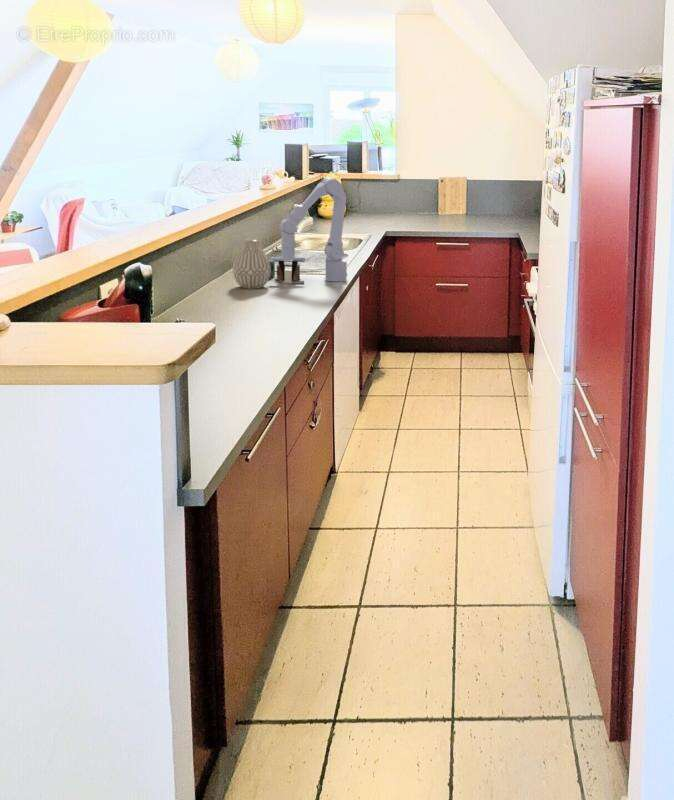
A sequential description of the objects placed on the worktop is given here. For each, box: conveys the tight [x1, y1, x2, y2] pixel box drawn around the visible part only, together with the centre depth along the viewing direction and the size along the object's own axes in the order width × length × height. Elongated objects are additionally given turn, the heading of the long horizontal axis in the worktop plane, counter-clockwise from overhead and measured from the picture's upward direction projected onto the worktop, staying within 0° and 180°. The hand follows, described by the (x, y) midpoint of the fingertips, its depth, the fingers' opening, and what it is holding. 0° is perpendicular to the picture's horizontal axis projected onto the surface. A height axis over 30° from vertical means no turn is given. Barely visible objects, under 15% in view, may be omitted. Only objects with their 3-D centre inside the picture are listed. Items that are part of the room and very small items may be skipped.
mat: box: [292, 280, 305, 285], centre depth 427 cm, size 5×6×1 cm
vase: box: [232, 238, 271, 290], centre depth 413 cm, size 16×16×20 cm
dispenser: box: [276, 262, 301, 281], centre depth 437 cm, size 10×8×7 cm
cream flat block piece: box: [284, 266, 293, 284], centre depth 432 cm, size 3×12×6 cm, turn 2°
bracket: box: [268, 259, 276, 280], centre depth 435 cm, size 18×7×8 cm, turn 166°
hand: (288, 278), depth 429 cm, fingers closed on cream flat block piece, 3 cm apart
